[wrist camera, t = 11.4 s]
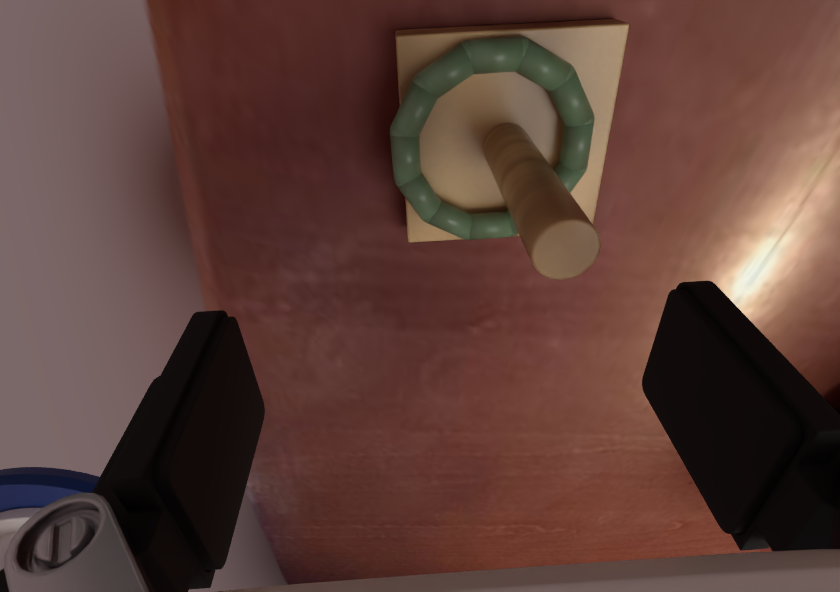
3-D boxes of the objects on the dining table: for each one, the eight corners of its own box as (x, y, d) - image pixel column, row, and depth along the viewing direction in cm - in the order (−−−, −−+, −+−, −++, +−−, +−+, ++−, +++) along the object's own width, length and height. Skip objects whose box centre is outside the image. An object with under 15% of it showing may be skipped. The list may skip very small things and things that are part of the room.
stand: (407, 228, 25) (415, 375, 17) (394, 29, 20) (398, 94, 11) (582, 218, 25) (679, 358, 17) (615, 18, 20) (783, 73, 12)
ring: (399, 236, 24) (399, 249, 23) (382, 42, 19) (381, 48, 18) (573, 224, 24) (580, 236, 23) (601, 28, 19) (612, 32, 18)
